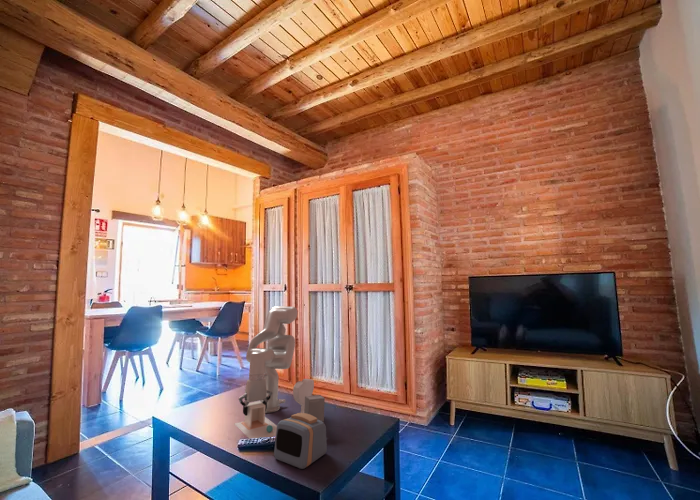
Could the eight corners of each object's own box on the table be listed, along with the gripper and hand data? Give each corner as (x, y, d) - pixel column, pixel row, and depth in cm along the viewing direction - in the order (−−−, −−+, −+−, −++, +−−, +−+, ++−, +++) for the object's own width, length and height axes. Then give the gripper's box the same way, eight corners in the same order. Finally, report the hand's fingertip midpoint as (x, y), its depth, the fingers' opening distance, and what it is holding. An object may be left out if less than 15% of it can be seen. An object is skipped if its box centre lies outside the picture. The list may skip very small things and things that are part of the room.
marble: (271, 430, 155) (271, 423, 155) (273, 432, 152) (274, 425, 153) (265, 431, 153) (265, 425, 153) (267, 434, 150) (268, 427, 151)
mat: (264, 417, 171) (264, 416, 171) (288, 435, 151) (288, 433, 151) (233, 424, 161) (233, 423, 161) (254, 445, 141) (255, 443, 141)
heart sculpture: (306, 409, 183) (307, 376, 185) (314, 411, 181) (315, 377, 183) (290, 419, 169) (292, 383, 171) (298, 421, 167) (300, 384, 169)
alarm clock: (271, 459, 130) (273, 417, 131) (298, 443, 143) (299, 405, 145) (303, 472, 121) (305, 427, 123) (328, 454, 135) (329, 413, 137)
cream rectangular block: (258, 419, 167) (259, 401, 168) (264, 424, 161) (265, 405, 162) (244, 422, 162) (245, 403, 163) (250, 428, 156) (251, 408, 157)
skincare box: (307, 435, 151) (309, 400, 153) (302, 429, 157) (303, 395, 159) (324, 432, 155) (325, 397, 157) (318, 426, 161) (320, 393, 163)
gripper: (269, 372, 172) (267, 406, 170) (237, 377, 162) (234, 414, 160) (275, 375, 167) (274, 411, 164) (242, 381, 156) (240, 419, 154)
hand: (254, 412), depth 162 cm, fingers open, 9 cm apart
